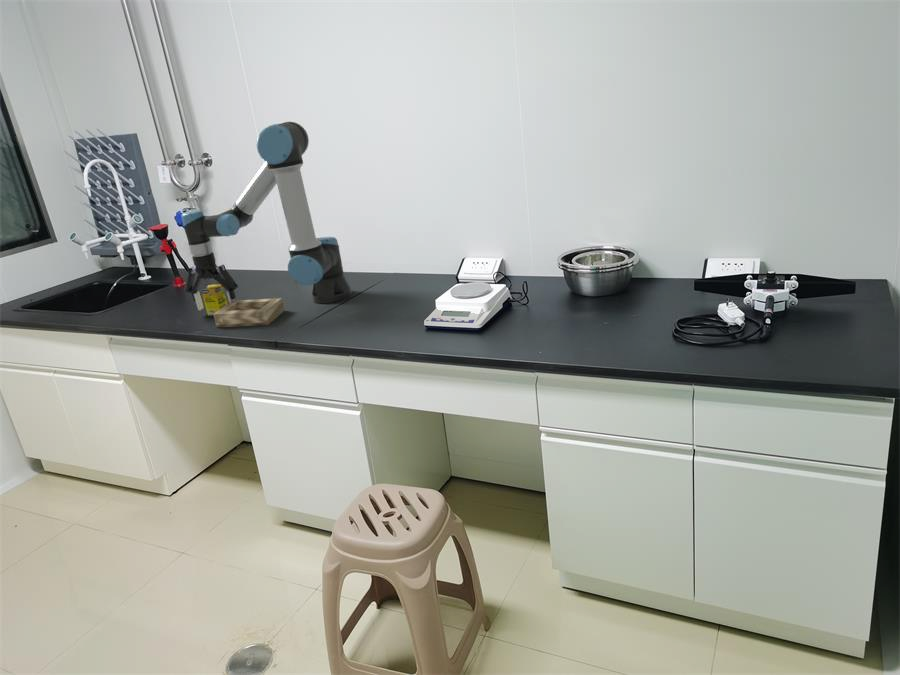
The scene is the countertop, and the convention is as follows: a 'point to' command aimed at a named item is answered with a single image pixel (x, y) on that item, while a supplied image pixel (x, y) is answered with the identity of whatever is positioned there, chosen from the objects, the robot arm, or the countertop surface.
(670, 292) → the countertop surface
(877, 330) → the countertop surface
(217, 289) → the supplement box
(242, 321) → the wooden tray
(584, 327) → the countertop surface
